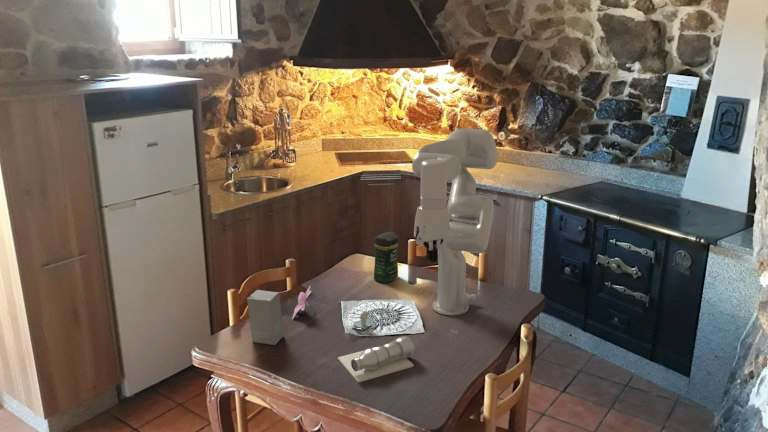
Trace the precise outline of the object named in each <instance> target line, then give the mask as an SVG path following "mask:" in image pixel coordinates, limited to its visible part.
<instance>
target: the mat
mask: <svg viewBox="0 0 768 432" xmlns="http://www.w3.org/2000/svg"><path fill="white" fill-rule="evenodd" d="M363 351H364V350H361V351H357V352H353V353H349V354H346V355H342V356H337V360H338V361H339V363H340V364H341V365H342V366H343V367H344V369H346V371H347V372H348V373H349V374H350V376H351V377H352V378H353V379H354V380H355V382H357V383H362V382H364V381H369V380H372V379H375V378H378V377H382V376H386V375H389V374H393V373H397V372H399V371H403V370H407V369H410V368H413V367H414V363H412V361H410V360H409V358H405V359H399V360H395V361H392V362H389V363H387V364H385V365H383V366H381V367H379V368H378V369H376V370H373V371H369V370H366V369H362V370H359V371H356V372H355V371H354V370H353V368H352V366H351V360H352V359H355V358H356V357H360V355H361V354H362V352H363Z"/></svg>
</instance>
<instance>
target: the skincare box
mask: <svg viewBox="0 0 768 432" xmlns="http://www.w3.org/2000/svg"><path fill="white" fill-rule="evenodd" d="M246 300H247V301H246V302H247V307H248V315H249V324H250V331H251V338H252V343H258V344H259V343H260V344H266V345H272V346H276V345H277V344H278V343H279V341H281V339H283V338H284V336H285V330H284V323H283V314H282V305H281V297H280V292H277V291H268V290H262V289H256V290H255V291H253V293H251V294H250V296H248V297H246Z"/></svg>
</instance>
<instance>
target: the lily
mask: <svg viewBox="0 0 768 432" xmlns="http://www.w3.org/2000/svg"><path fill="white" fill-rule="evenodd" d="M310 289H311V285H310V286H309V287H308V288H307V290H306V291H305V292H303V291H301V292H299V295H298V297H297V303H298V304H297V305H296V306H295V308H294V310H293V311H294V312H293V314H292V318H291V319H292V320H294V317H295V316H296V315H297V313H298V311H299V310H301V311H305V308H306V307H310V308H311V309H312V310H313V312H314V313H315V314H316V313H317V312H316V311H315V309H314V308H313V306H311V305H310V303H309V297H308V296H309V295H310V294H311V293H312V290H310Z"/></svg>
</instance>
